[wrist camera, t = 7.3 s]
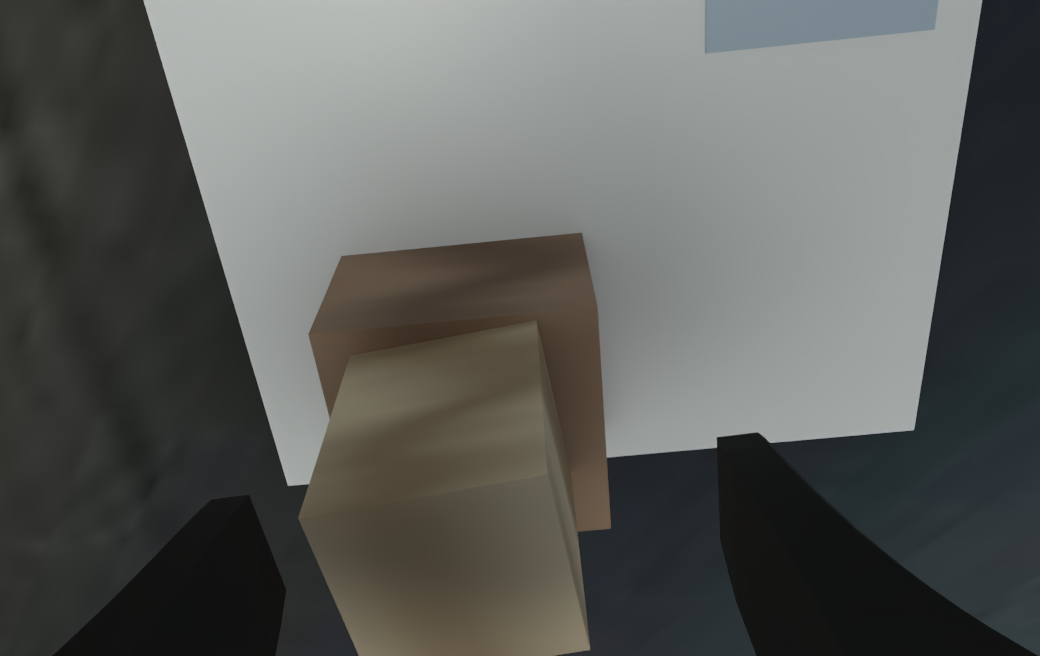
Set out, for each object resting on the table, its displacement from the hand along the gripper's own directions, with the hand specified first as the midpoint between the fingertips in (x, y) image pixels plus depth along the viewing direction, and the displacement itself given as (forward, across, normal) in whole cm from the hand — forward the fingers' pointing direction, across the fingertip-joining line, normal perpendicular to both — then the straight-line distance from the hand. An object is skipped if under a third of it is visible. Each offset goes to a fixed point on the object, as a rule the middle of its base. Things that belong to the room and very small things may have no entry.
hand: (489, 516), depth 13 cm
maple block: (+5, +1, +2) cm, 6 cm away
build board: (+10, -2, -2) cm, 10 cm away
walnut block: (+9, +1, +2) cm, 10 cm away
